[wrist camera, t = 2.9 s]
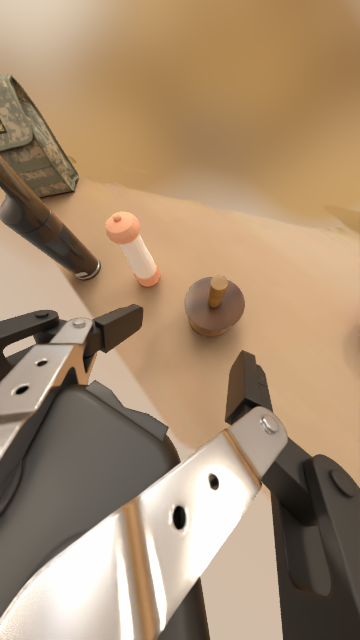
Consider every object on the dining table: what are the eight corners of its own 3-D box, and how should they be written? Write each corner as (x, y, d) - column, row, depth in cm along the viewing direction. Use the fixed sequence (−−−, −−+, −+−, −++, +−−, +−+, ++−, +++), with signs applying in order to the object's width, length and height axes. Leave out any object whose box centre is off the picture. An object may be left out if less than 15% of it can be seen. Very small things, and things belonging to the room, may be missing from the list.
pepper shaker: (135, 285, 43) (91, 228, 25) (141, 267, 45) (104, 201, 27) (157, 287, 41) (127, 228, 23) (162, 268, 44) (138, 200, 26)
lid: (175, 295, 31) (169, 272, 23) (222, 271, 31) (230, 241, 24) (202, 342, 27) (204, 333, 19) (255, 314, 27) (278, 294, 20)
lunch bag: (33, 202, 65) (-73, 97, 40) (42, 182, 70) (-47, 77, 45) (75, 194, 63) (-9, 77, 37) (81, 174, 68) (12, 59, 43)
